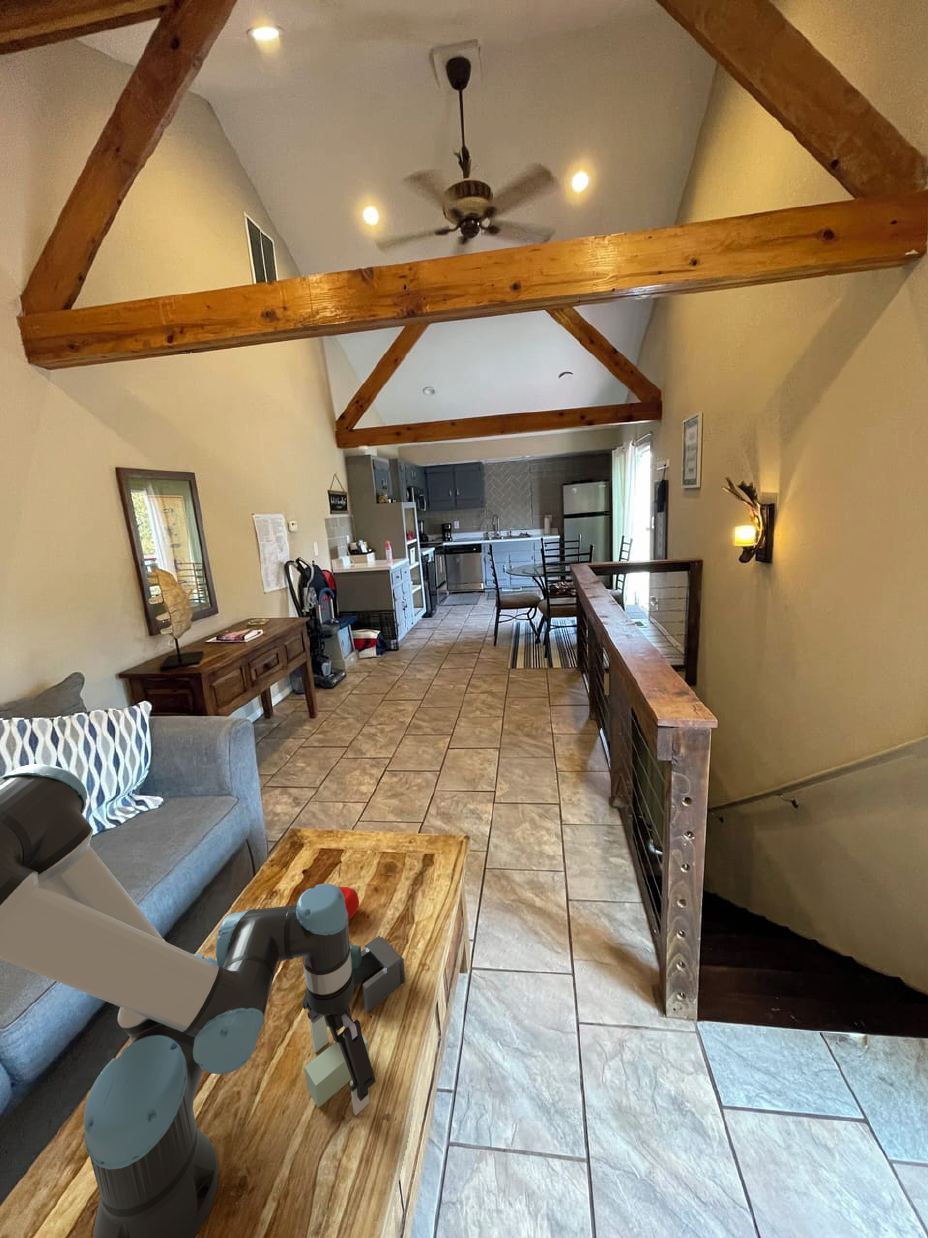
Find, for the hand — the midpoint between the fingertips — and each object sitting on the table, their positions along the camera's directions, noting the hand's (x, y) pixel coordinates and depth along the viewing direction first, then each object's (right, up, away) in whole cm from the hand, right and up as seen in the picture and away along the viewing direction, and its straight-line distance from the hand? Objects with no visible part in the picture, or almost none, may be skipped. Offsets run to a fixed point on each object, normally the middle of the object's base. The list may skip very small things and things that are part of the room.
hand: (340, 1075), depth 88 cm
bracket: (-5, +4, +18) cm, 19 cm away
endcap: (+3, +4, +16) cm, 17 cm away
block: (0, 0, 0) cm, 0 cm away
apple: (-8, +7, +34) cm, 36 cm away
